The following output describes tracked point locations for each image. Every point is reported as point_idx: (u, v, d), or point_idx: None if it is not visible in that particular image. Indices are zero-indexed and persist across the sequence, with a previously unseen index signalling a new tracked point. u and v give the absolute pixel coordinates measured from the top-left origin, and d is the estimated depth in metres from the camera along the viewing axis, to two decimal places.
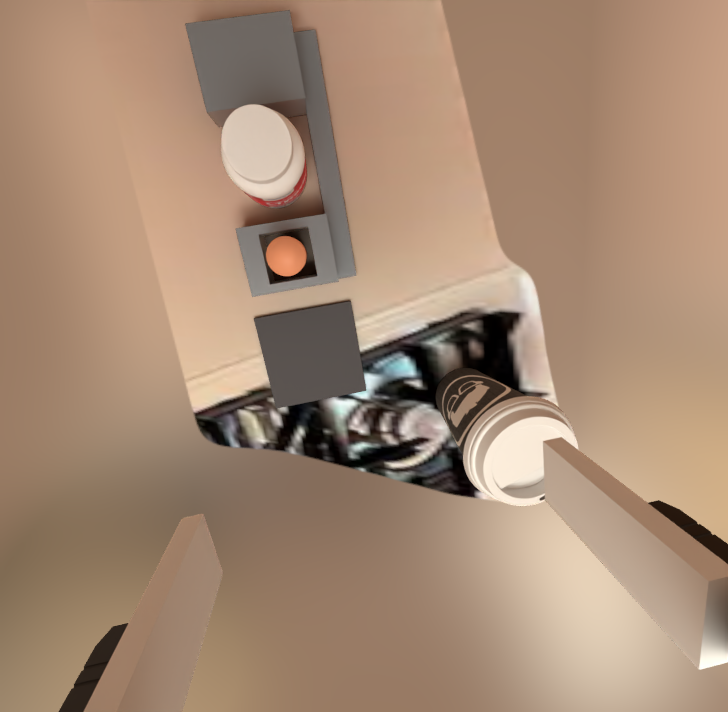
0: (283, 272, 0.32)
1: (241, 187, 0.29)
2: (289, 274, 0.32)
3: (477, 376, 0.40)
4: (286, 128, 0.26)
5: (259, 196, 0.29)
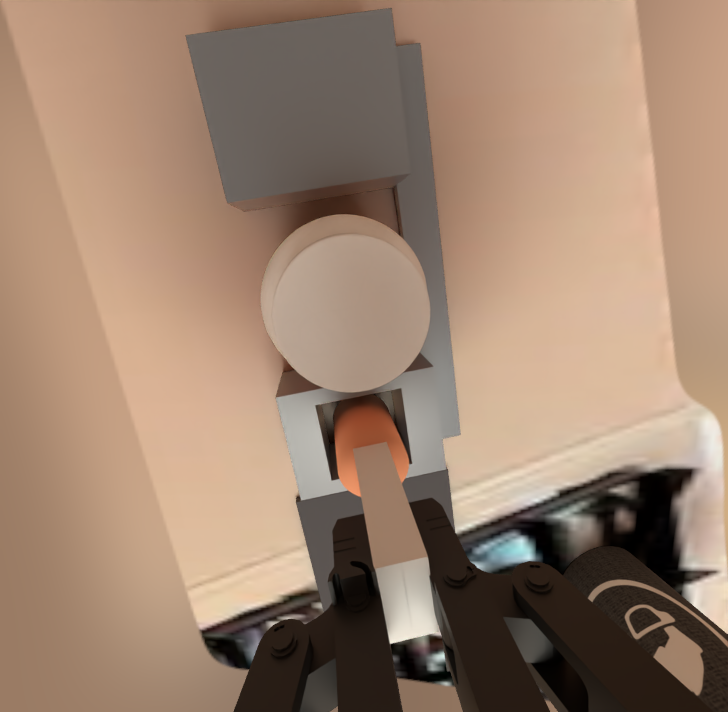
0: None
1: None
2: None
3: (648, 588, 0.25)
4: (421, 284, 0.11)
5: None
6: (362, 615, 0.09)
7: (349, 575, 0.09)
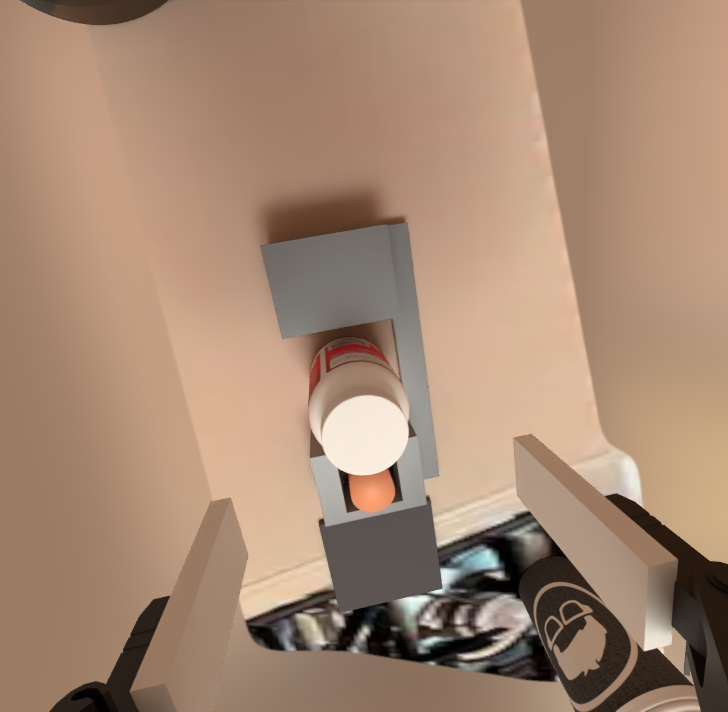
0: (368, 509, 0.28)
1: None
2: (375, 510, 0.28)
3: (578, 588, 0.34)
4: (403, 418, 0.20)
5: None
6: None
7: None
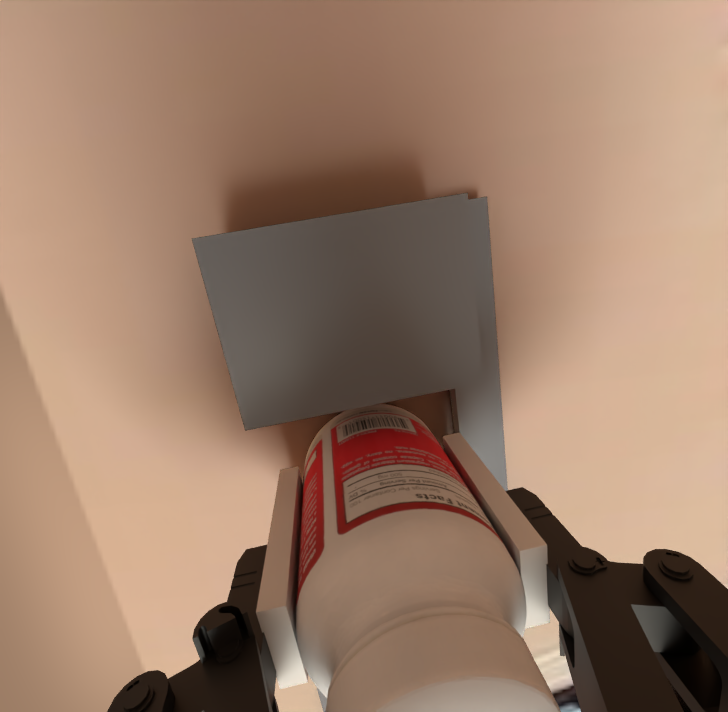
0: None
1: None
2: None
3: None
4: None
5: None
6: (235, 664, 0.09)
7: (217, 624, 0.09)
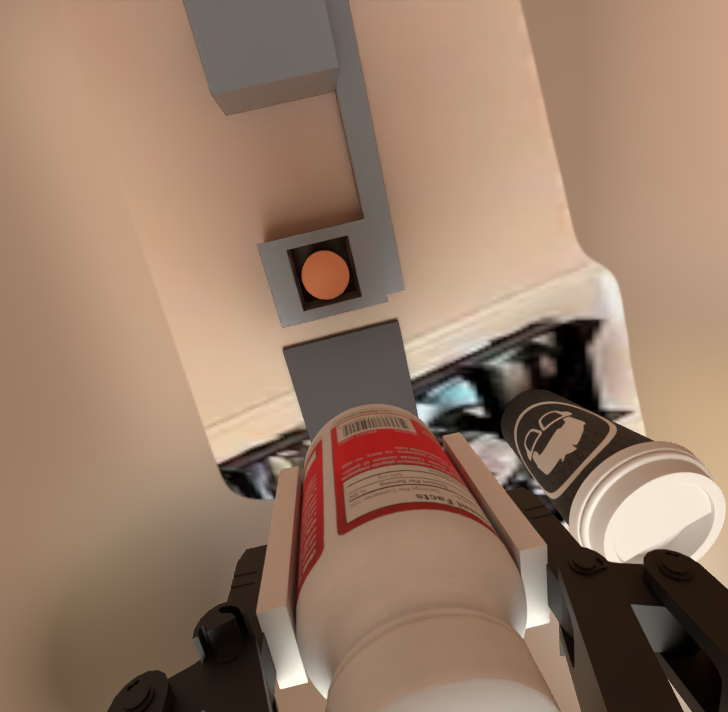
0: (322, 295, 0.26)
1: None
2: (330, 297, 0.26)
3: (558, 403, 0.32)
4: None
5: None
6: (235, 664, 0.09)
7: (217, 624, 0.09)
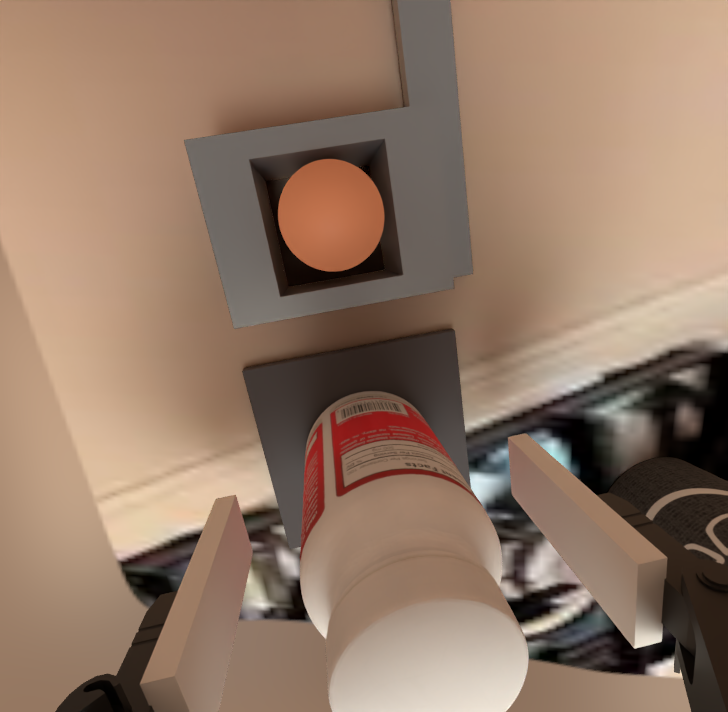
0: (323, 261, 0.12)
1: None
2: (339, 266, 0.12)
3: None
4: (519, 639, 0.09)
5: None
6: None
7: (81, 707, 0.07)
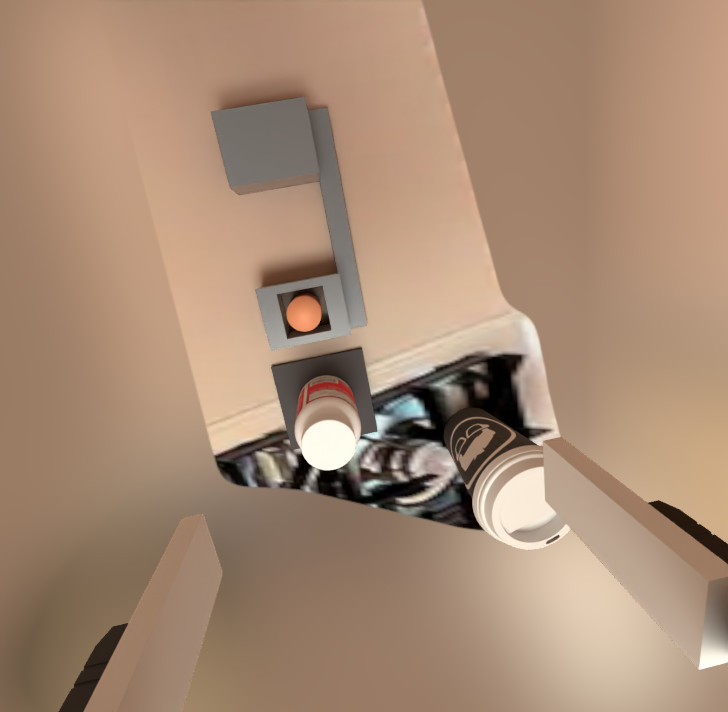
0: (301, 328, 0.36)
1: None
2: (307, 330, 0.36)
3: (483, 418, 0.42)
4: (352, 433, 0.32)
5: None
6: None
7: None
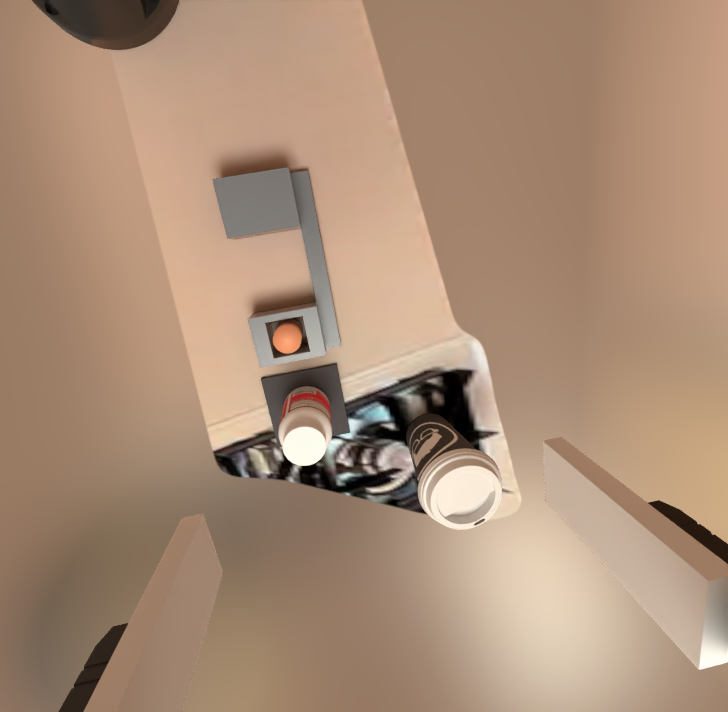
0: (285, 351, 0.44)
1: None
2: (289, 352, 0.45)
3: (436, 423, 0.51)
4: (322, 437, 0.41)
5: None
6: None
7: None
